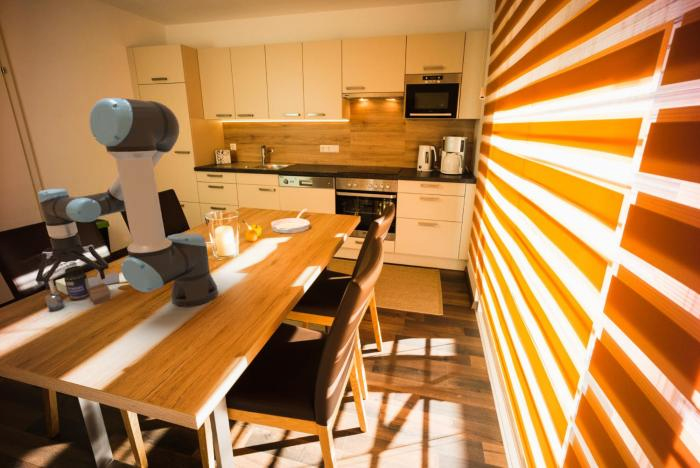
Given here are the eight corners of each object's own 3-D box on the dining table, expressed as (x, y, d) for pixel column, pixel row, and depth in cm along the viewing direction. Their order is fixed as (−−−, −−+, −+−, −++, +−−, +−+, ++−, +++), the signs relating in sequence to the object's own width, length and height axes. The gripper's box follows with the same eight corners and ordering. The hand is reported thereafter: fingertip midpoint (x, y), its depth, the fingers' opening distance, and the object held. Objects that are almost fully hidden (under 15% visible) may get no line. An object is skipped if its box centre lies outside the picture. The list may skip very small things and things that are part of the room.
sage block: (80, 291, 124) (78, 281, 123) (67, 295, 121) (65, 285, 120) (70, 286, 128) (67, 276, 127) (57, 290, 125) (55, 280, 124)
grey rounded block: (63, 309, 111) (59, 296, 110) (48, 313, 109) (43, 299, 108) (65, 304, 114) (61, 291, 113) (50, 308, 112) (45, 294, 111)
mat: (119, 283, 130) (118, 281, 130) (83, 290, 124) (83, 289, 124) (118, 273, 139) (118, 272, 139) (85, 280, 133) (85, 278, 133)
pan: (262, 233, 192) (261, 224, 190) (289, 215, 232) (289, 207, 230) (303, 236, 187) (302, 226, 186) (323, 217, 228) (323, 209, 226)
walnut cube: (111, 299, 118) (108, 287, 116) (94, 305, 114) (90, 292, 112) (107, 295, 121) (104, 283, 119) (90, 300, 117) (86, 287, 116)
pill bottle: (67, 302, 116) (59, 273, 112) (72, 295, 121) (64, 267, 118) (89, 298, 118) (82, 269, 115) (93, 291, 124) (85, 263, 120)
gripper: (108, 226, 122) (120, 280, 129) (16, 238, 109) (35, 297, 116) (108, 231, 116) (121, 287, 123) (11, 245, 103) (31, 306, 110)
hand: (79, 292), depth 119 cm, fingers open, 12 cm apart
